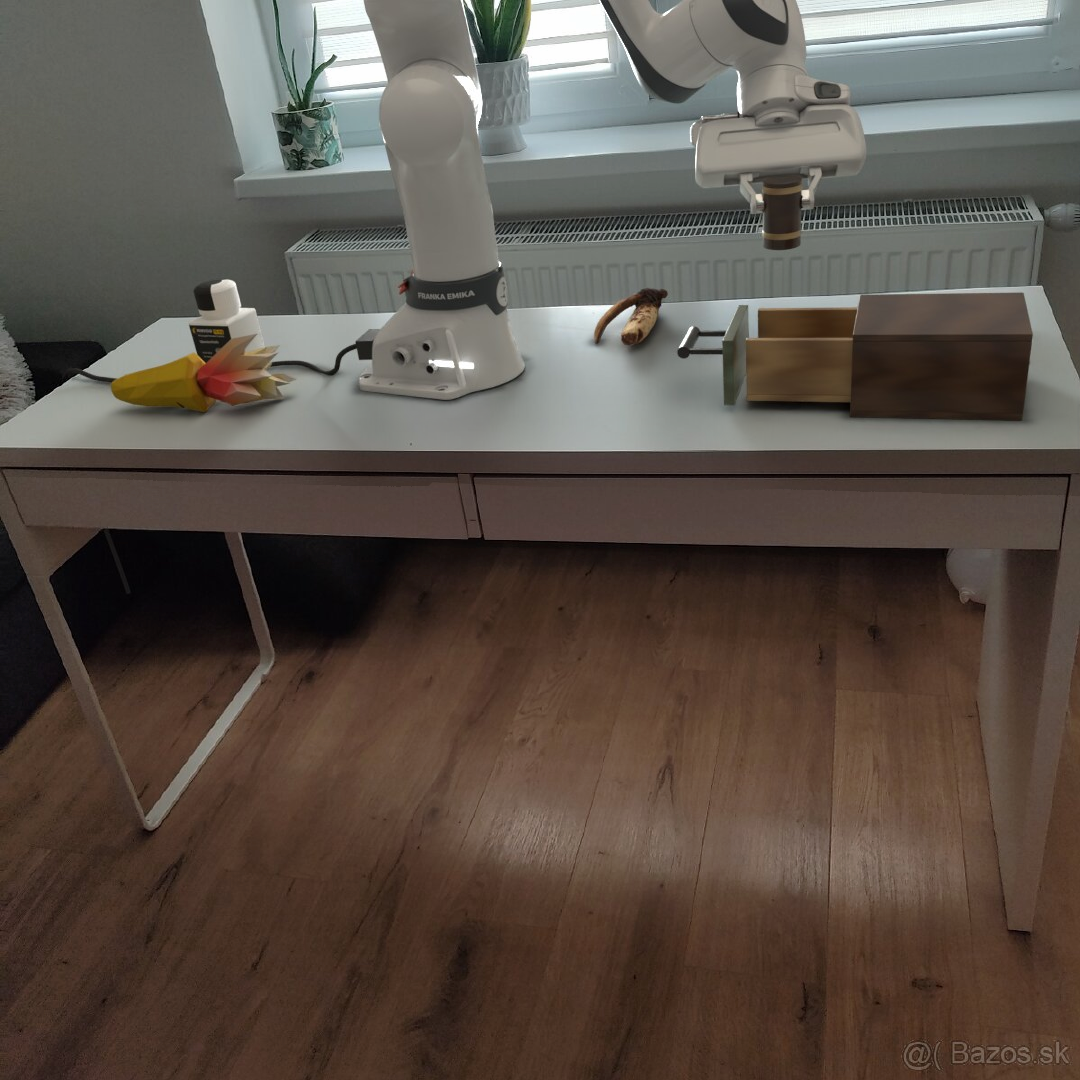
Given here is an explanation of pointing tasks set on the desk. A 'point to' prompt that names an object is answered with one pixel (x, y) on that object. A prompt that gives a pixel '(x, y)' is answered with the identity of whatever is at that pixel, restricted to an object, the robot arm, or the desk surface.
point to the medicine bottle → (222, 319)
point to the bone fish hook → (634, 315)
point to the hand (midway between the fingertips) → (782, 209)
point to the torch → (205, 379)
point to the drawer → (784, 354)
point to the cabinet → (941, 356)
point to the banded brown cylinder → (782, 212)
